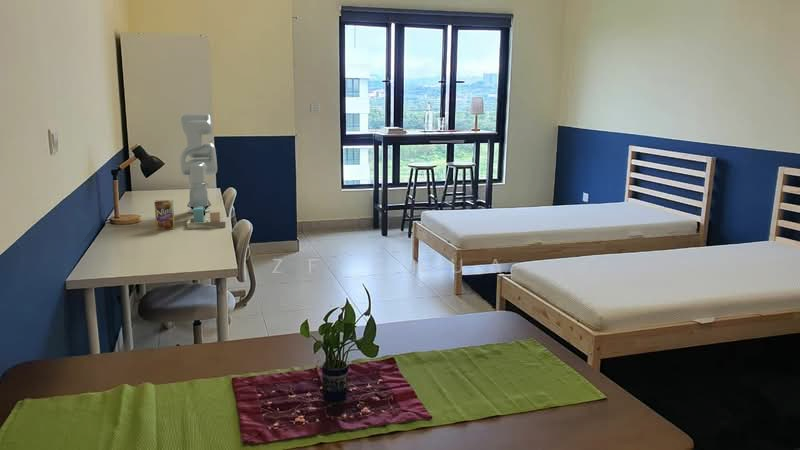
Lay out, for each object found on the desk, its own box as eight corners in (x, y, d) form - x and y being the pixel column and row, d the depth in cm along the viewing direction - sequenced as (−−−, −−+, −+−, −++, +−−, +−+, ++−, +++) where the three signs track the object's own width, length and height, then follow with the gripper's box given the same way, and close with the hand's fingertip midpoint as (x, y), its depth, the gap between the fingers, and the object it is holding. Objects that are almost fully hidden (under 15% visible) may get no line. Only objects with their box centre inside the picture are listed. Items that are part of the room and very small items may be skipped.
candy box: (156, 229, 328) (153, 201, 325) (158, 227, 332) (155, 199, 329) (173, 229, 329) (171, 201, 326) (175, 227, 334) (173, 199, 330)
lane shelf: (188, 224, 340) (188, 219, 339) (225, 223, 344) (225, 217, 344) (187, 229, 330) (186, 223, 329) (225, 227, 335) (225, 221, 334)
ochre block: (211, 225, 340) (210, 210, 338) (220, 224, 341) (219, 210, 339) (210, 227, 335) (209, 212, 333) (220, 226, 336) (219, 212, 334)
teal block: (195, 217, 357) (194, 204, 356) (204, 217, 359) (203, 203, 357) (194, 223, 343) (193, 209, 341) (203, 223, 344) (202, 209, 342)
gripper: (213, 184, 358) (215, 215, 362) (183, 185, 354) (185, 216, 358) (212, 186, 351) (214, 217, 355) (182, 187, 347) (184, 219, 351)
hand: (200, 216), depth 356 cm, fingers closed on teal block, 3 cm apart
